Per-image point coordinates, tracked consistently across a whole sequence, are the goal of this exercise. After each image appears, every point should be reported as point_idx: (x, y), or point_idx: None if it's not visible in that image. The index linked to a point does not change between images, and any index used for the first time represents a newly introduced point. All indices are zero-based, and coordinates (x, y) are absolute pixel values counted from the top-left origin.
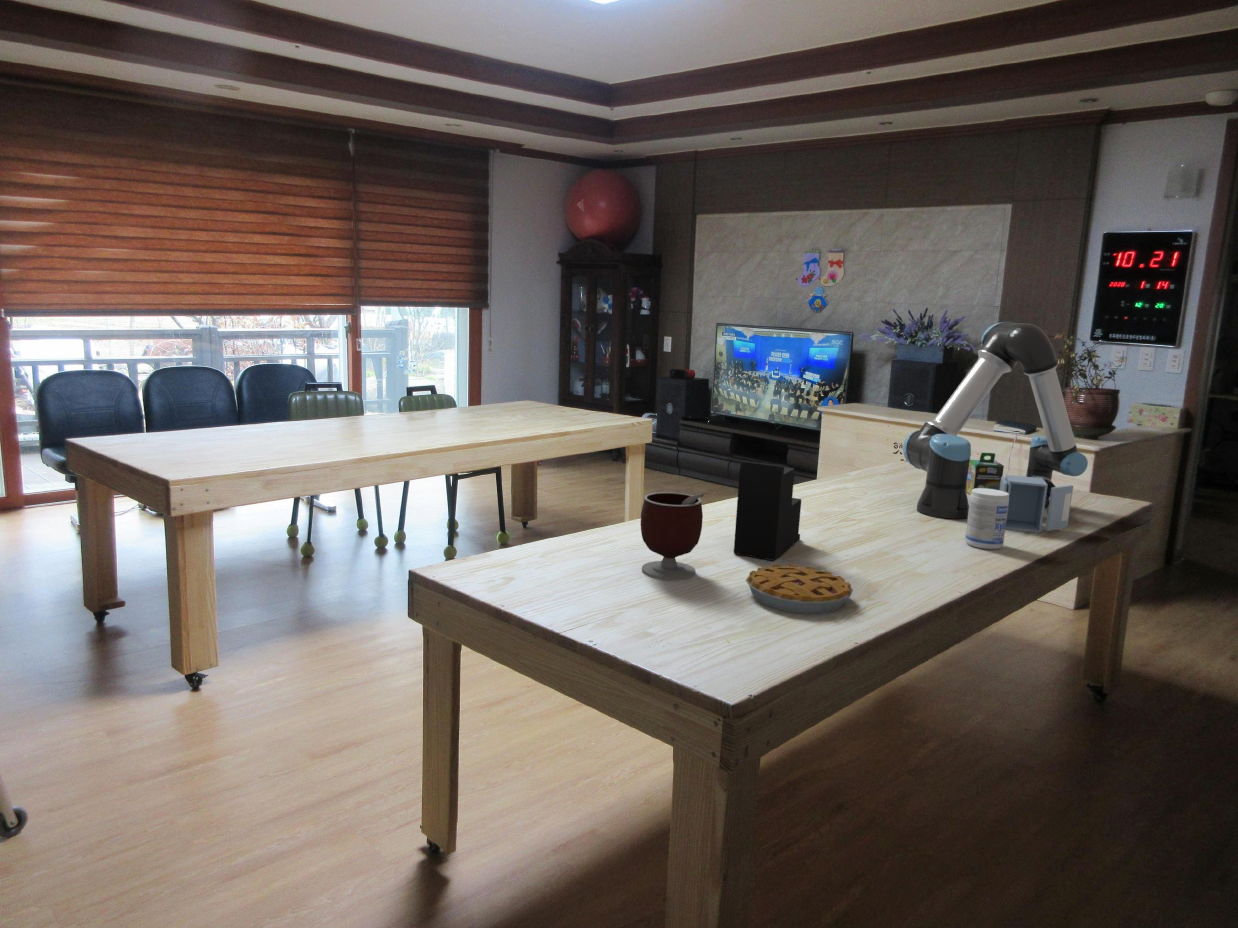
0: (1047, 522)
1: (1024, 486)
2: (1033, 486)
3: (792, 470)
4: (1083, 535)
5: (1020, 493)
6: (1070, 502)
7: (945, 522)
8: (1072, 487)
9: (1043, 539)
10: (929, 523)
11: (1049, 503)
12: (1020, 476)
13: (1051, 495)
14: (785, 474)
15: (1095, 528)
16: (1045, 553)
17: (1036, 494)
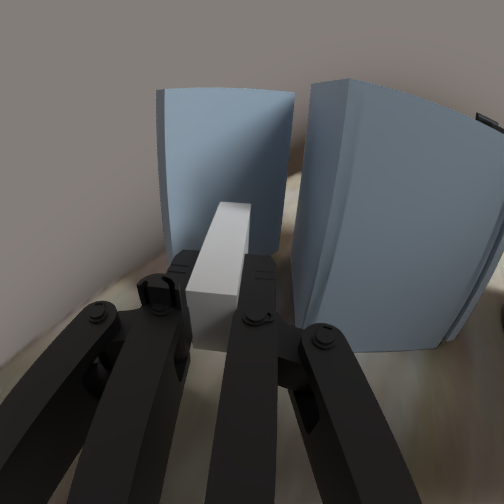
0: (278, 224)
1: (432, 169)
2: (388, 152)
3: (488, 122)
4: (147, 264)
5: (434, 216)
6: (163, 186)
7: (495, 272)
8: (162, 100)
9: (289, 218)
10: (500, 258)
11: (287, 155)
12: (468, 117)
13: (287, 122)
14: (479, 120)
15: (30, 352)
16: (294, 177)
17: (353, 199)
